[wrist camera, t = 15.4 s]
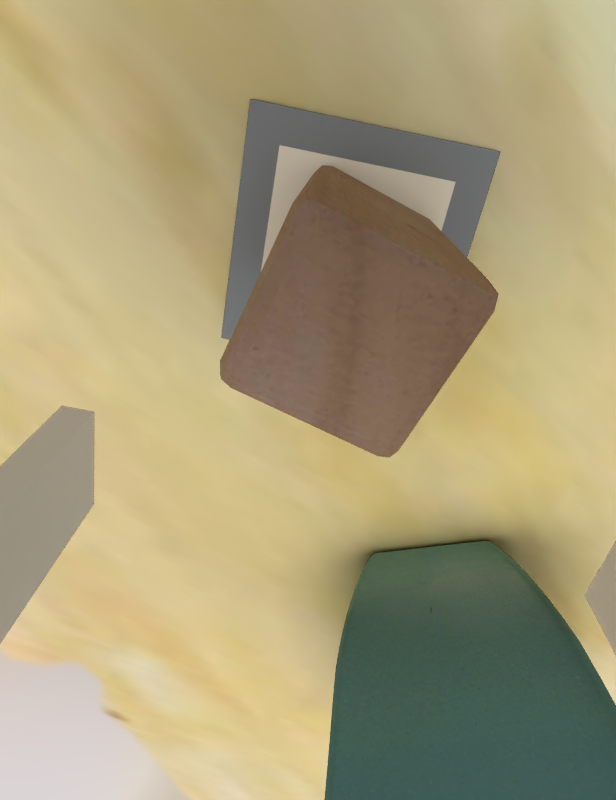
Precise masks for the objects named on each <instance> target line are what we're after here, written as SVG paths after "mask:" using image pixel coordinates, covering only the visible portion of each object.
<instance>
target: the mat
mask: <svg viewBox="0 0 616 800" xmlns="http://www.w3.org/2000/svg"><path fill="white" fill-rule="evenodd" d="M499 155H500V151H495V150H490V149H486V148H481V147H476V146H471V145H467V144H462V143H457V142H452V141H448V140H443V139H438V138H433V137H429V136H424V135H419V134H414V133H410V132H405V131H400V130H395V129H391V128H386V127H381V126H376V125H372V124H367V123H362V122H357V121H353V120H348V119H343V118H338V117H334V116H329V115H324V114H319V113H315V112H310V111H305V110H300V109H296V108H291V107H286V106H281V105H277V104H272V103H267V102H263V101H258V100H253V99H250V105H249V113H248V122H247V130H246V138H245V146H244V155H243V163H242V171H241V179H240V188H239V196H238V204H237V212H236V221H235V229H234V237H233V245H232V254H231V262H230V270H229V278H228V287H227V295H226V303H225V311H224V320H223V328H222V336H221V338H225V339H230V338H231V336H232V334H233V332H234V330H235V328H236V325H237V323H238V321H239V319H240V317H241V314H242V312H243V310H244V308H245V306H246V304H247V301H248V299H249V297H250V295H251V293H252V290H253V288H254V286H255V284H256V282H257V280H258V277H259V275H260V273H261V271H262V269H263V266H264V264H265V262H266V260H267V258H268V255H269V253H270V251H271V249H272V247H273V245H274V242H275V240H276V238H277V236H278V234H279V231H280V229H281V227H282V225H283V223H284V221H285V218H286V216H287V214H288V212H289V210H290V207H291V205H292V203H293V202H294V200H295V199H296V198H297V196H298V195H299V193H300V192H301V191H302V189H303V188H304V186H305V185H306V184H307V182H308V181H309V179H310V178H311V177H312V175H313V174H314V173H315V172H316V171H317V170H318V169H319V168H320V167H321V166H322V165H324V166H334V167H335V168H337V169H339V170H341V171H343V172H344V173H346V174H348V175H350V176H352V177H354V178H355V179H357V180H359V181H361V182H363V183H365V184H366V185H368V186H370V187H372V188H374V189H375V190H377V191H379V192H381V193H383V194H385V195H386V196H388V197H390V198H392V199H394V200H395V201H397V202H399V203H401V204H403V205H405V206H406V207H408V208H410V209H412V210H414V211H415V212H417V213H419V214H421V215H423V216H425V217H426V218H428V219H430V220H431V221H432V222H433V223H434V224H435V225H436V226H437V227H438V228H439V229H440V230H441V231H442V232H443V233H444V235H445V236H446V237H447V238H448V239H449V240H450V241H451V242H452V243H453V244H454V245H455V246H456V247H457V248H458V249H459V250H460V251H461V252H462V253H463V254H464V255H465V256H466V257H467V256H468V253H469V250H470V247H471V243H472V240H473V237H474V234H475V231H476V228H477V224H478V221H479V218H480V215H481V212H482V209H483V206H484V202H485V199H486V196H487V193H488V190H489V187H490V184H491V180H492V177H493V174H494V171H495V168H496V165H497V161H498V158H499Z"/></svg>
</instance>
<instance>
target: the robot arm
mask: <svg viewBox="0 0 616 800" xmlns="http://www.w3.org/2000/svg"><path fill="white" fill-rule="evenodd" d="M93 505H94V412H93V411H88V410H82V409H77V408H72V407H67V406H61V407H60V408H59V409H58V410H57V411H56V412H55V413H54V414H53V415H52V416H51V417H50V418H49V419H48V420H47V421H46V422H45V423H44V424H43V425H42V426H41V427H40V428H39V429H38V430H37V431H36V432H35V433H34V434H33V435H32V436H30V437H29V438H28V439H27V440H26V441H25V442H24V443H23V444H22V445H21V446H20V447H19V448H18V449H17V450H16V451H15V452H14V453H13V454H12V455H11V456H10V457H9V458H8V459H7V460H6V461H5V462H4V463H3V464H2V465H1V466H0V643H1V642H2V640H3V639H4V637H5V636H6V634H7V633H8V631H9V630H10V628H11V627H12V625H13V624H14V622H15V621H16V619H17V618H18V617H19V615H20V614H21V612H22V611H23V609H24V608H25V606H26V605H27V603H28V602H29V600H30V599H31V597H32V596H33V594H34V593H35V591H36V590H37V588H38V587H39V585H40V584H41V582H42V581H43V579H44V578H45V576H46V575H47V573H48V572H49V570H50V569H51V567H52V566H53V564H54V563H55V561H56V560H57V558H58V557H59V555H60V554H61V552H62V551H63V549H64V548H65V546H66V545H67V543H68V542H69V540H70V539H71V537H72V536H73V534H74V533H75V531H76V530H77V528H78V527H79V525H80V524H81V522H82V521H83V519H84V518H85V516H86V515H87V513H88V512H89V511H90V509H91V508H92V506H93ZM585 597H586V599H587V601H588V603H589V605H590V606H591V608H592V610H593V612H594V614H595V616H596V618H597V620H598V622H599V624H600V626H601V628H602V630H603V632H604V634H605V636H606V637H607V639H608V641H609V643H610V645H611V647H612V649H613V651H614V653H615V655H616V541H615V543H614V545H613V546H612V548H611V550H610V552H609V553H608V555H607V557H606V559H605V560H604V562H603V564H602V566H601V567H600V569H599V571H598V573H597V574H596V576H595V578H594V579H593V581H592V583H591V585H590V586H589V588H588V590H587V592H586V593H585Z"/></svg>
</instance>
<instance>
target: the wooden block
mask: <svg viewBox="0 0 616 800" xmlns="http://www.w3.org/2000/svg"><path fill="white" fill-rule="evenodd" d="M497 298H498V293H497V291H496V290H495V288H494V287H493V286H492V284H491V283H490V282H489V280H488V279H487V278H486V277H485V276H484V275H483V274H482V273H481V272H480V271H479V270H478V269H477V268H476V267H475V266H474V265H473V264H472V263H471V262H470V261H469V260H468V258H467V257H466V256H465V255H464V254H463V253H462V252H461V251H460V250H459V249H458V248H457V247H456V246H455V245H454V244H453V243H452V242H451V241H450V240H449V239H448V238H447V237H446V236H445V235H444V233H443V232H442V231H441V230H440V229H439V228H438V227H437V226H436V225H435V224H434V223H433V222H432V221H431V220H430V219H428V218H426V217H425V216H423V215H421V214H419V213H417V212H415V211H414V210H412V209H410V208H408V207H406V206H405V205H403V204H401V203H399V202H397V201H395V200H394V199H392V198H390V197H388V196H386V195H385V194H383V193H381V192H379V191H377V190H375V189H374V188H372V187H370V186H368V185H366V184H365V183H363V182H361V181H359V180H357V179H355V178H354V177H352V176H350V175H348V174H346V173H344V172H343V171H341V170H339V169H337V168H335V167H334V166H324V165H322V166H321V167H320V168H319V169H318V170H317V171H316V172H315V173H314V174H313V175H312V177H311V178H310V179H309V181H308V182H307V184H306V185H305V186H304V188H303V189H302V191H301V192H300V193H299V195H298V196H297V198H296V199H295V200H294V202H293V203H292V205H291V207H290V210H289V212H288V214H287V216H286V218H285V221H284V223H283V225H282V227H281V229H280V231H279V234H278V236H277V238H276V240H275V242H274V245H273V247H272V249H271V251H270V253H269V255H268V258H267V260H266V262H265V264H264V266H263V269H262V271H261V273H260V275H259V277H258V280H257V282H256V284H255V286H254V288H253V290H252V293H251V295H250V297H249V299H248V301H247V304H246V306H245V308H244V310H243V312H242V314H241V317H240V319H239V321H238V323H237V325H236V328H235V330H234V332H233V334H232V336H231V338H230V341H229V343H228V345H227V347H226V349H225V352H224V354H223V356H222V358H221V360H220V376H221V379H222V380H223V381H224V382H225V383H226V384H227V385H228V386H230V387H231V388H233V389H235V390H237V391H239V392H241V393H243V394H246V395H248V396H250V397H252V398H254V399H256V400H258V401H261V402H263V403H265V404H267V405H269V406H271V407H274V408H276V409H278V410H280V411H282V412H284V413H286V414H289V415H291V416H293V417H295V418H297V419H299V420H301V421H304V422H306V423H308V424H310V425H312V426H314V427H317V428H319V429H321V430H323V431H325V432H327V433H329V434H332V435H334V436H336V437H338V438H340V439H342V440H344V441H347V442H349V443H351V444H353V445H355V446H357V447H359V448H362V449H364V450H366V451H368V452H370V453H372V454H375V455H377V456H381V457H390V456H392V455H393V454H395V453H396V452H397V451H398V450H399V449H400V447H401V446H402V445H403V443H404V442H405V440H406V439H407V437H408V436H409V434H410V433H411V431H412V430H413V429H414V427H415V426H416V424H417V423H418V421H419V420H420V418H421V417H422V415H423V414H424V413H425V411H426V410H427V408H428V407H429V405H430V404H431V402H432V401H433V399H434V398H435V397H436V395H437V394H438V392H439V391H440V389H441V388H442V386H443V385H444V383H445V382H446V380H447V379H448V378H449V376H450V375H451V373H452V372H453V370H454V369H455V367H456V366H457V364H458V363H459V362H460V360H461V359H462V357H463V356H464V354H465V353H466V351H467V350H468V348H469V347H470V345H471V344H472V343H473V341H474V340H475V338H476V337H477V335H478V334H479V332H480V331H481V329H482V328H483V327H484V325H485V324H486V322H487V321H488V319H489V318H490V316H491V315H492V313H493V312H494V310H495V306H496V302H497Z"/></svg>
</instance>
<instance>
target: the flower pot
mask: <svg viewBox="0 0 616 800" xmlns="http://www.w3.org/2000/svg"><path fill="white" fill-rule="evenodd" d="M325 800H616V705H615V703H614V701H613V700H612V698H611V696H610V694H609V692H608V691H607V689H606V687H605V685H604V683H603V682H602V680H601V678H600V676H599V674H598V673H597V671H596V669H595V667H594V666H593V664H592V662H591V660H590V659H589V657H588V655H587V653H586V652H585V650H584V648H583V647H582V645H581V643H580V642H579V640H578V639H577V637H576V636H575V634H574V633H573V631H572V630H571V629H570V627H569V626H568V624H567V623H566V621H565V620H564V619H563V617H562V616H561V614H560V613H559V612H558V610H557V609H556V608H555V607H554V605H553V604H552V603H551V601H550V600H549V599H548V598H547V596H546V595H545V594H544V593H543V592H542V590H541V589H540V588H539V587H538V586H537V584H536V583H535V582H534V581H533V580H532V579H531V578H530V577H529V576H528V575H527V573H526V572H525V571H524V570H523V569H522V568H521V567H520V566H519V565H518V564H517V563H516V562H515V561H514V560H513V559H512V558H511V557H509V556H508V555H507V554H506V553H504V552H503V551H502V550H501V549H499V548H498V547H497V546H496V545H494V544H493V543H492V542H490V541H479V542H470V543H461V544H452V545H443V546H434V547H425V548H417V549H408V550H400V551H391V552H382V553H375V554H373V555H372V556H371V557H370V559H369V560H368V562H367V564H366V566H365V568H364V570H363V572H362V574H361V576H360V578H359V581H358V583H357V586H356V588H355V591H354V594H353V597H352V600H351V603H350V606H349V610H348V613H347V616H346V620H345V625H344V629H343V633H342V638H341V642H340V647H339V653H338V659H337V665H336V673H335V683H334V694H333V707H332V719H331V732H330V744H329V756H328V767H327V779H326V790H325Z"/></svg>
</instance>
